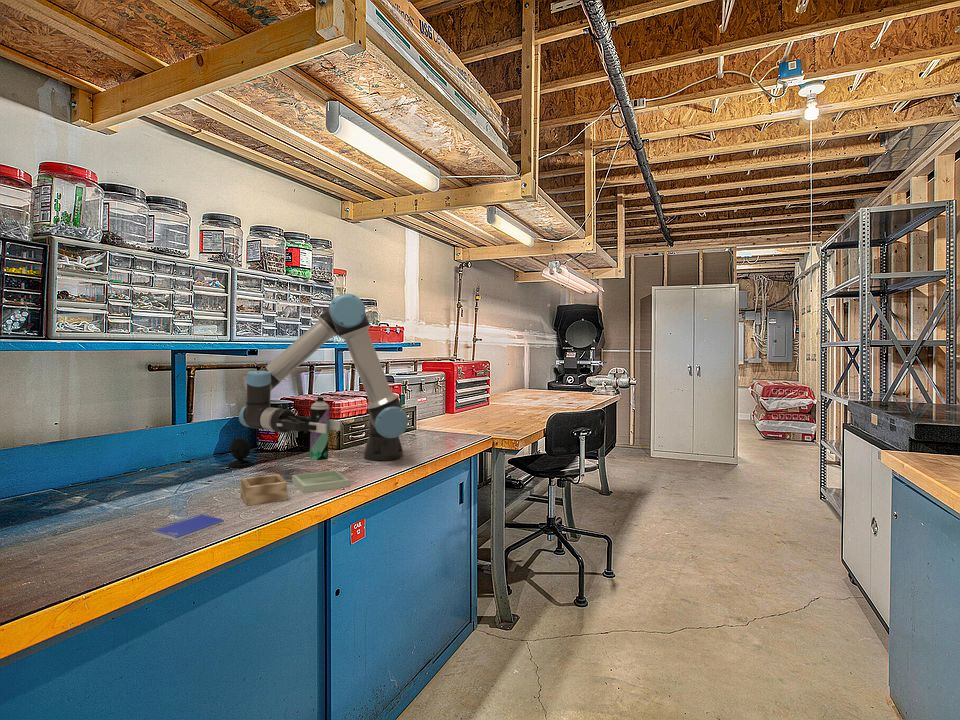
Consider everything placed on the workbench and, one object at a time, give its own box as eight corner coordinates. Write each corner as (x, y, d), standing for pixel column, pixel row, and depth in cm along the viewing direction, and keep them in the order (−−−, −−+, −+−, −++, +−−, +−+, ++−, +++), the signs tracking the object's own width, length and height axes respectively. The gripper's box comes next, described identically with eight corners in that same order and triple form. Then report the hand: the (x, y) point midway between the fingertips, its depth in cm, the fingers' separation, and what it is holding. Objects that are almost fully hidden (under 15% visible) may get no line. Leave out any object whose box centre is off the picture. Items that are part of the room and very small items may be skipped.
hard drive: (176, 536, 113) (224, 519, 124) (152, 530, 116) (200, 514, 127) (176, 543, 113) (224, 525, 124) (152, 536, 116) (200, 520, 128)
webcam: (256, 464, 182) (257, 437, 181) (240, 469, 175) (240, 440, 174) (239, 462, 184) (240, 435, 184) (223, 467, 177) (223, 438, 177)
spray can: (306, 460, 159) (308, 396, 158) (322, 457, 163) (324, 395, 162) (314, 463, 155) (316, 398, 154) (331, 460, 159) (332, 397, 158)
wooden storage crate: (278, 490, 152) (278, 474, 151) (286, 500, 143) (286, 482, 143) (240, 495, 146) (240, 478, 146) (246, 505, 137) (246, 487, 137)
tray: (335, 476, 169) (335, 469, 169) (349, 486, 157) (349, 479, 157) (292, 481, 161) (292, 475, 161) (303, 493, 150) (303, 486, 150)
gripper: (299, 427, 175) (352, 435, 165) (254, 435, 158) (310, 444, 148) (300, 406, 175) (352, 412, 164) (255, 411, 158) (310, 418, 148)
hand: (332, 427), depth 156 cm, fingers closed on spray can, 5 cm apart
